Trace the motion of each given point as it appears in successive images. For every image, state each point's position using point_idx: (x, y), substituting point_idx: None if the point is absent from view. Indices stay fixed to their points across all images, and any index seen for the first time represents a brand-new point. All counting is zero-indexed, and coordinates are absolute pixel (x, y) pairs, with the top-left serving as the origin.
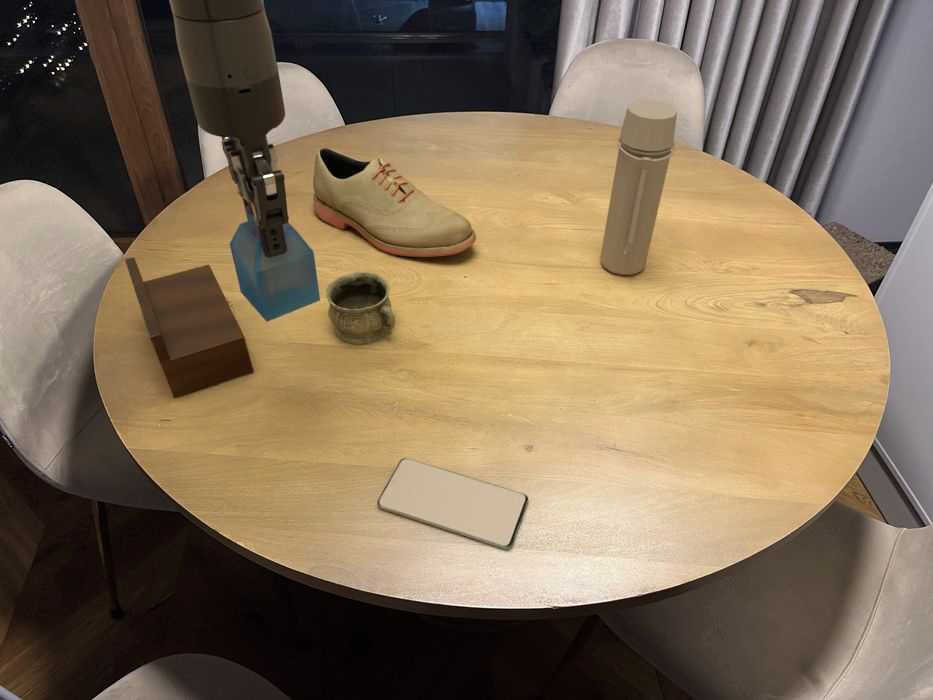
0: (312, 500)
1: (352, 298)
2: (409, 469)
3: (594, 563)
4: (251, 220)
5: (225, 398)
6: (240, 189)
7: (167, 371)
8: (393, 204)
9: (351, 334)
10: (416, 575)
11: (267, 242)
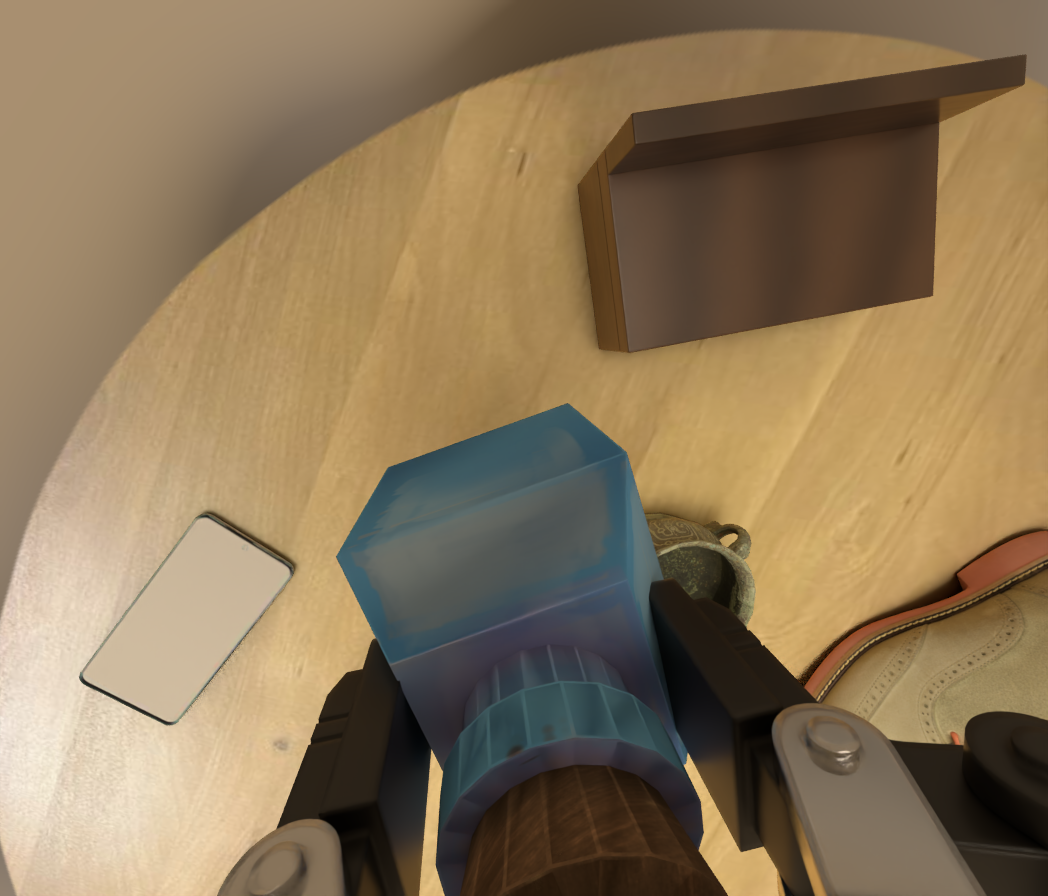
0: (248, 411)
1: (717, 566)
2: (266, 575)
3: (45, 769)
4: (487, 727)
5: (544, 287)
6: (801, 813)
7: (597, 168)
8: (950, 721)
9: None
10: (62, 540)
11: (322, 736)
